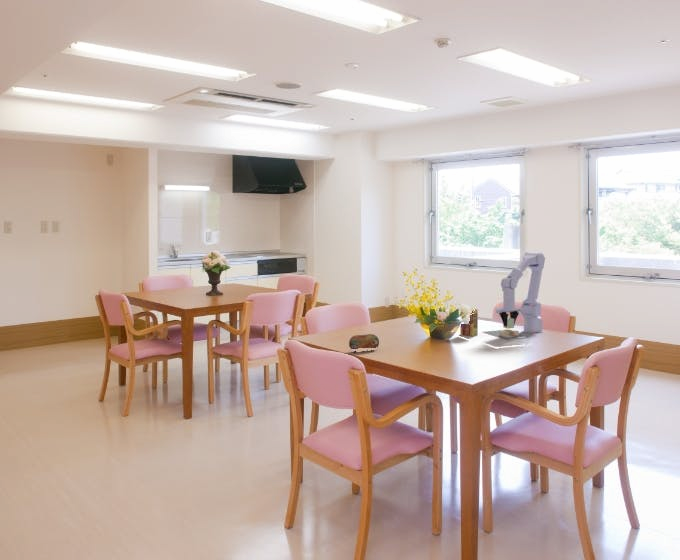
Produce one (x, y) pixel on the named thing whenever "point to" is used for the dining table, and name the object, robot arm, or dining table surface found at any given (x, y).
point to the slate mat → (497, 334)
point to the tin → (364, 341)
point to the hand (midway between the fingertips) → (509, 325)
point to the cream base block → (509, 333)
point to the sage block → (509, 323)
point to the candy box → (470, 325)
